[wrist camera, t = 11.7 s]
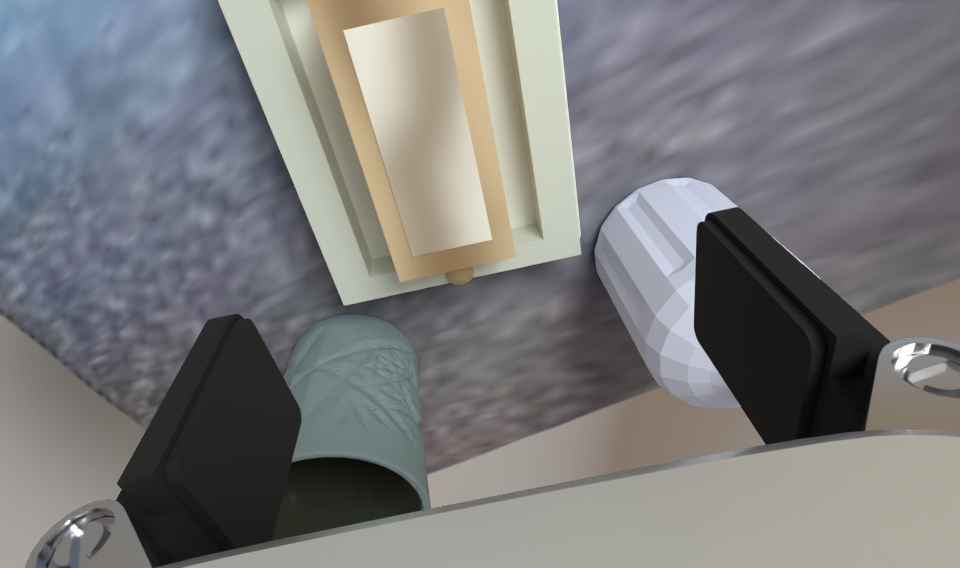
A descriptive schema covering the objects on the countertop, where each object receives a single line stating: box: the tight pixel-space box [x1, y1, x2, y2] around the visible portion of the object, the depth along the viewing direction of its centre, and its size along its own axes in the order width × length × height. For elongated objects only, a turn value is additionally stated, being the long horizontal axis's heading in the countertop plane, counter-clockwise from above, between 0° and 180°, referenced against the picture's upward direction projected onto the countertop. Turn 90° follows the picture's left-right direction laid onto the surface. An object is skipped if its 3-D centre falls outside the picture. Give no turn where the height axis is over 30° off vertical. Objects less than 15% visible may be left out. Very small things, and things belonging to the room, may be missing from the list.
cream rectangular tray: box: [218, 0, 581, 306], centre depth 28 cm, size 15×18×4 cm
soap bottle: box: [594, 178, 820, 409], centre depth 25 cm, size 9×9×25 cm
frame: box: [306, 0, 516, 282], centre depth 26 cm, size 6×13×5 cm, turn 11°
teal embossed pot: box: [272, 314, 431, 541], centre depth 33 cm, size 10×10×12 cm
